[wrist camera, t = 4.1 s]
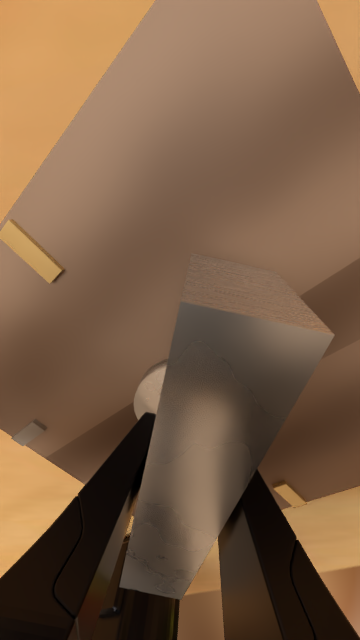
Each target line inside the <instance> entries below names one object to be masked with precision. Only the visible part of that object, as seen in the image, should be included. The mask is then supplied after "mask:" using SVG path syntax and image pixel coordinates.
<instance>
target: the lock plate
mask: <svg viewBox="0 0 360 640" xmlns="http://www.w3.org/2000/svg"><path fill="white" fill-rule="evenodd" d="M192 253H193V254H198V255H203V256H207V257H212V258H216V259H221V260H225V261H230V262H234V263H239V264H243V265H248V266H253V267H257V268H262V269H266V270H271V271H275V272H276V273H277V274H278V275H279V276H280V277H281V278H282V279H283V280H284V281H285V282H286V283H287V284H288V285H289V287H290V288H291V289H292V290H293V291H294V292H295V293H296V294H297V295H298V296H299V297H300V298H301V299H302V300H303V301H304V303H305V304H306V305H307V306H308V307H309V308H310V309H311V310H312V311H313V312H314V313H315V314H316V315H317V316H318V318H319V319H320V320H321V321H322V322H323V323H324V324H325V325H326V326H327V327H328V328H329V329H330V330H331V331H332V332H333V334H334V335H335V336H334V337H333V339H332V341H331V342H330V344H329V346H328V348H327V349H326V351H325V353H324V355H323V356H322V358H321V360H320V361H319V363H318V365H317V367H316V368H315V370H314V372H313V373H312V375H311V377H310V379H309V380H308V382H307V384H306V386H305V387H304V389H303V391H302V392H301V394H300V396H299V398H298V399H297V401H296V403H295V404H294V406H293V408H292V410H291V411H290V413H289V415H288V417H287V418H286V420H285V422H284V423H283V425H282V427H281V429H280V430H279V432H278V434H277V436H276V437H275V439H274V441H273V442H272V444H271V446H270V448H269V449H268V451H267V453H266V454H265V456H264V458H263V460H262V461H261V463H260V465H259V467H258V468H257V469H258V471H259V472H260V474H261V476H262V478H263V479H264V481H265V483H266V485H267V486H268V488H269V490H270V492H271V493H272V495H273V497H274V499H275V500H276V502H277V504H278V506H279V507H280V509H281V510H282V509H285V508H288V507H291V506H293V507H294V508H296V507H299V506H302V505H306V504H307V503H306V502H308V501H311V500H314V499H318V498H321V497H324V496H328V495H331V494H334V493H338V492H341V491H344V490H347V489H351V488H354V487H357V486H360V94H359V92H358V89H357V87H356V85H355V83H354V81H353V78H352V76H351V74H350V72H349V70H348V68H347V65H346V63H345V61H344V59H343V57H342V54H341V52H340V50H339V48H338V46H337V43H336V41H335V39H334V37H333V35H332V33H331V30H330V28H329V26H328V24H327V22H326V19H325V17H324V15H323V13H322V11H321V9H320V6H319V4H318V2H317V0H155V2H154V3H153V5H152V6H151V8H150V9H149V10H148V12H147V13H146V15H145V16H144V18H143V19H142V21H141V22H140V23H139V25H138V26H137V28H136V29H135V31H134V32H133V34H132V35H131V36H130V38H129V39H128V41H127V42H126V44H125V45H124V47H123V48H122V49H121V51H120V52H119V54H118V55H117V57H116V58H115V60H114V61H113V62H112V64H111V65H110V67H109V68H108V70H107V71H106V72H105V74H104V75H103V77H102V78H101V80H100V81H99V83H98V84H97V85H96V87H95V88H94V90H93V91H92V93H91V94H90V96H89V97H88V98H87V100H86V101H85V103H84V104H83V106H82V107H81V109H80V110H79V111H78V113H77V114H76V116H75V117H74V119H73V120H72V121H71V123H70V124H69V126H68V127H67V129H66V130H65V132H64V133H63V134H62V136H61V137H60V139H59V140H58V142H57V143H56V145H55V146H54V147H53V149H52V150H51V152H50V153H49V155H48V156H47V158H46V159H45V160H44V162H43V163H42V165H41V166H40V168H39V169H38V170H37V172H36V173H35V175H34V176H33V178H32V179H31V181H30V182H29V183H28V185H27V186H26V188H25V189H24V191H23V192H22V194H21V195H20V196H19V198H18V199H17V201H16V202H15V204H14V205H13V207H12V208H11V209H10V211H9V212H8V214H7V215H6V217H5V218H4V220H3V221H2V222H1V224H0V429H1V430H3V431H4V432H6V433H7V434H9V435H10V436H12V438H11V439H13V440H14V441H16V442H17V443H19V444H20V445H22V446H24V445H26V446H27V447H29V448H30V449H32V450H33V451H35V452H36V453H38V454H39V455H41V456H42V457H44V458H45V459H47V460H49V461H50V462H52V463H53V464H55V465H56V466H58V467H59V468H61V469H62V470H64V471H65V472H67V473H68V474H70V475H71V476H73V477H74V478H76V479H77V480H79V481H81V482H82V483H84V484H85V485H86V483H87V482H88V481H89V480H90V479H91V477H92V476H93V475H94V474H95V472H96V471H97V470H98V469H99V468H100V466H101V465H102V464H103V463H104V462H105V460H106V459H107V458H108V457H109V455H110V454H111V453H112V452H113V451H114V449H115V448H116V447H117V446H118V444H119V443H120V442H121V441H122V440H123V438H124V437H125V436H126V435H127V433H128V432H129V431H130V430H131V429H132V427H133V426H134V425H135V424H136V422H137V421H138V419H137V417H136V414H135V411H134V397H135V393H136V391H137V388H138V385H139V382H140V380H141V378H142V377H143V375H144V374H145V373H146V372H147V370H148V369H150V368H151V367H152V366H154V365H155V364H157V363H159V362H161V361H163V360H166V359H168V357H169V353H170V348H171V344H172V339H173V334H174V330H175V325H176V320H177V316H178V311H179V306H180V302H181V297H182V293H183V289H184V284H185V280H186V276H187V271H188V267H189V263H190V258H191V254H192ZM139 493H140V491H139ZM138 497H139V494H138ZM138 497H137V500H136V503H135V507H134V510H133V513H132V516H135V511H136V506H137V502H138Z"/></svg>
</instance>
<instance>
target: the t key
mask: <svg viewBox="0 0 360 640" xmlns="http://www.w3.org/2000/svg"><path fill="white" fill-rule="evenodd" d="M334 336H335V335H334V334H333V332H332V331H331V330H330V329H329V328H328V327H327V326H326V325H325V324H324V323H323V322H322V321H321V320H320V319H319V318H318V316H317V315H316V314H315V313H314V312H313V311H312V310H311V309H310V308H309V307H308V306H307V305H306V304H305V303H304V301H303V300H302V299H301V298H300V297H299V296H298V295H297V294H296V293H295V292H294V291H293V290H292V289H291V288H290V287H289V285H288V284H287V283H286V282H285V281H284V280H283V279H282V278H281V277H280V276H279V275H278V274H277V273H276V272H275V271H271V270H266V269H262V268H257V267H253V266H248V265H243V264H239V263H234V262H230V261H225V260H221V259H216V258H212V257H207V256H203V255H198V254H193V253H192V254H191V258H190V263H189V267H188V271H187V276H186V280H185V284H184V289H183V293H182V297H181V302H180V306H179V311H178V316H177V320H176V325H175V330H174V334H173V339H172V344H171V348H170V353H169V357H168V359H166V360H163V361H161V362H159V363H157V364H155V365H154V366H152V367H151V368H150V369H148V370H147V372H146V373H145V374H144V375H143V377H142V378H141V380H140V382H139V385H138V388H137V391H136V393H135V397H134V411H135V414H136V417H137V419H138V420H139V419H140V418H141V416H142V415H143V414H144V413H145V412H150V413H155V414H156V418H155V423H154V427H153V432H152V437H151V441H150V446H149V451H148V455H147V460H146V465H145V469H144V474H143V479H142V483H141V488H140V493H139V497H138V502H137V506H136V511H135V516H134V520H133V525H132V530H131V534H130V539H129V544H128V548H127V553H126V558H125V562H124V567H123V572H122V576H121V581H120V586H119V587H122V588H126V589H131V590H136V591H141V592H146V593H151V594H155V595H160V596H165V597H170V598H175V599H179V600H181V599H182V597H183V596H184V594H185V592H186V591H187V589H188V587H189V585H190V584H191V582H192V580H193V579H194V577H195V575H196V573H197V572H198V570H199V568H200V566H201V565H202V563H203V561H204V560H205V558H206V556H207V554H208V553H209V551H210V549H211V548H212V546H213V544H214V542H215V541H216V539H217V537H218V535H219V534H220V532H221V530H222V529H223V527H224V525H225V523H226V522H227V520H228V518H229V516H230V515H231V513H232V511H233V510H234V508H235V506H236V504H237V503H238V501H239V499H240V498H241V496H242V494H243V492H244V491H245V489H246V487H247V485H248V484H249V482H250V480H251V479H252V477H253V475H254V473H255V472H256V470H257V468H258V467H259V465H260V463H261V461H262V460H263V458H264V456H265V454H266V453H267V451H268V449H269V448H270V446H271V444H272V442H273V441H274V439H275V437H276V436H277V434H278V432H279V430H280V429H281V427H282V425H283V423H284V422H285V420H286V418H287V417H288V415H289V413H290V411H291V410H292V408H293V406H294V404H295V403H296V401H297V399H298V398H299V396H300V394H301V392H302V391H303V389H304V387H305V386H306V384H307V382H308V380H309V379H310V377H311V375H312V373H313V372H314V370H315V368H316V367H317V365H318V363H319V361H320V360H321V358H322V356H323V355H324V353H325V351H326V349H327V348H328V346H329V344H330V342H331V341H332V339H333V337H334Z"/></svg>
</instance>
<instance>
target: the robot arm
mask: <svg viewBox="0 0 360 640" xmlns="http://www.w3.org/2000/svg"><path fill="white" fill-rule="evenodd" d="M155 418H156V414H155V413H150V412H145V413H144V414H143V415H142V416H141V418H140V419H139V420H138V421H137V422H136V424H135V425H134V426H133V427H132V429H131V430H130V431H129V432H128V433H127V435H126V436H125V437H124V438H123V440H122V441H121V442H120V443H119V444H118V446H117V447H116V448H115V449H114V451H113V452H112V453H111V454H110V455H109V457H108V458H107V459H106V460H105V462H104V463H103V464H102V465H101V466H100V468H99V469H98V470H97V471H96V472H95V474H94V475H93V476H92V477H91V479H90V480H89V481H88V482H87V483H86V485H85V486H84V487H83V488H82V490H81V491H80V492H79V493H78V496H76V497H75V498H74V499H73V500H72V502H71V503H70V504H69V505H68V506H67V508H66V509H65V510H64V511H63V512H62V514H61V515H60V516H59V517H58V518H57V519H56V520H55V522H54V523H53V524H52V525H51V526H50V527H49V528H48V529H47V531H46V532H45V533H44V534H43V535H42V536H41V537H40V538H39V539H38V540H37V541H36V542H35V543H34V544H33V545H32V546H31V548H30V549H29V550H28V551H27V552H26V553H25V554H24V555H23V556H22V557H21V558H20V559H19V560H18V561H17V562H16V563H15V564H14V565H13V566H12V567H11V568H10V569H9V570H8V571H7V572H6V573H5V574H4V575H3V576H2V577H1V578H0V640H177V634H178V633H177V632H178V618H179V616H178V615H179V602H180V600H179V599H175V598H170V597H165V596H160V595H155V594H151V593H146V592H141V591H136V590H131V589H126V588H122V587H119V586H120V581H121V576H122V572H123V567H124V562H125V558H126V553H127V548H128V544H129V539H130V537H129V538H126V539H124V537H125V534H126V531H127V528H128V525H129V522H130V519H131V516H132V513H133V510H134V507H135V503H136V500H137V497H138V494H139V491H140V488H141V483H142V479H143V474H144V469H145V465H146V460H147V455H148V451H149V446H150V441H151V437H152V432H153V427H154V423H155ZM218 546H219V561H220V576H221V592H222V607H223V622H224V637H225V640H360V637H359V636H358V634H357V633H356V631H355V630H354V628H353V627H352V625H351V624H350V622H349V621H348V620H347V618H346V616H345V615H344V613H343V612H342V611H341V609H340V607H339V606H338V604H337V603H336V601H335V600H334V598H333V596H332V595H331V593H330V592H329V590H328V589H327V587H326V586H325V584H324V582H323V581H322V579H321V578H320V576H319V574H318V573H317V571H316V569H315V568H314V566H313V564H312V563H311V561H310V559H309V558H308V556H307V554H306V552H305V551H304V549H303V547H302V545H301V544H300V542H299V540H296V535H295V533H294V532H293V530H292V528H291V526H290V525H289V523H288V521H287V519H286V518H285V516H284V514H283V513H282V511H281V509H280V507H279V506H278V504H277V502H276V500H275V499H274V497H273V495H272V493H271V492H270V490H269V488H268V486H267V485H266V483H265V481H264V479H263V478H262V476H261V474H260V472H259V471H258V469H257V470H256V472H255V473H254V475H253V477H252V479H251V480H250V482H249V484H248V485H247V487H246V489H245V491H244V492H243V494H242V496H241V498H240V499H239V501H238V503H237V504H236V506H235V508H234V510H233V511H232V513H231V515H230V516H229V518H228V520H227V522H226V523H225V525H224V527H223V529H222V530H221V532H220V534H219V535H218Z"/></svg>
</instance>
